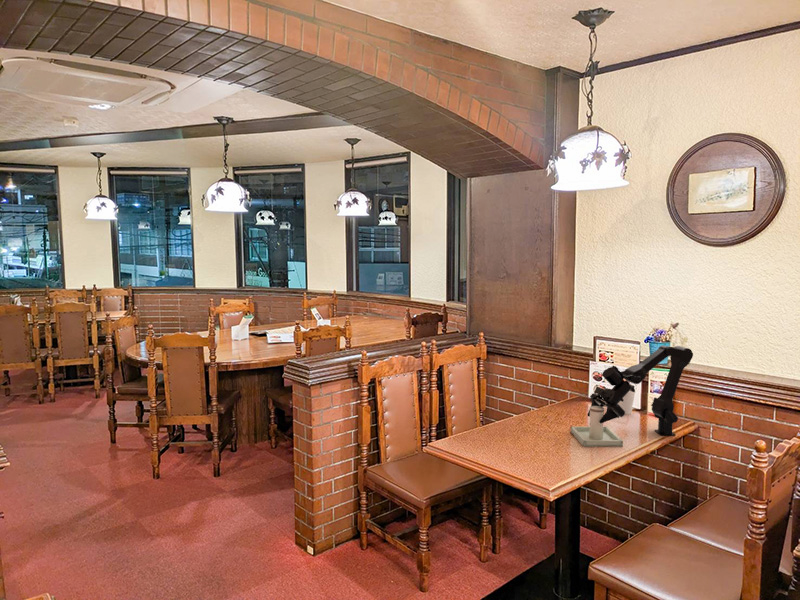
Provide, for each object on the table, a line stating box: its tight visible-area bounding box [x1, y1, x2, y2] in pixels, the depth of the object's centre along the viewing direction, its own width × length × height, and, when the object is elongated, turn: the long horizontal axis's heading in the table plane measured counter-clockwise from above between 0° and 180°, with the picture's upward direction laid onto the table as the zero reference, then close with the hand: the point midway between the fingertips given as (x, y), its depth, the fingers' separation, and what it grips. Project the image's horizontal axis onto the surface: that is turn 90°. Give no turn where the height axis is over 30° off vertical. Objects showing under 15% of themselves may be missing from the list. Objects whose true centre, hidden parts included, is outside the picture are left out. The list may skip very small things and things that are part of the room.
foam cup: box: [618, 386, 637, 415], centre depth 276 cm, size 10×9×13 cm
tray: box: [570, 426, 624, 448], centre depth 240 cm, size 18×16×2 cm
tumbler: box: [588, 405, 605, 440], centre depth 239 cm, size 6×6×13 cm
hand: (593, 419), depth 239 cm, fingers open, 9 cm apart
